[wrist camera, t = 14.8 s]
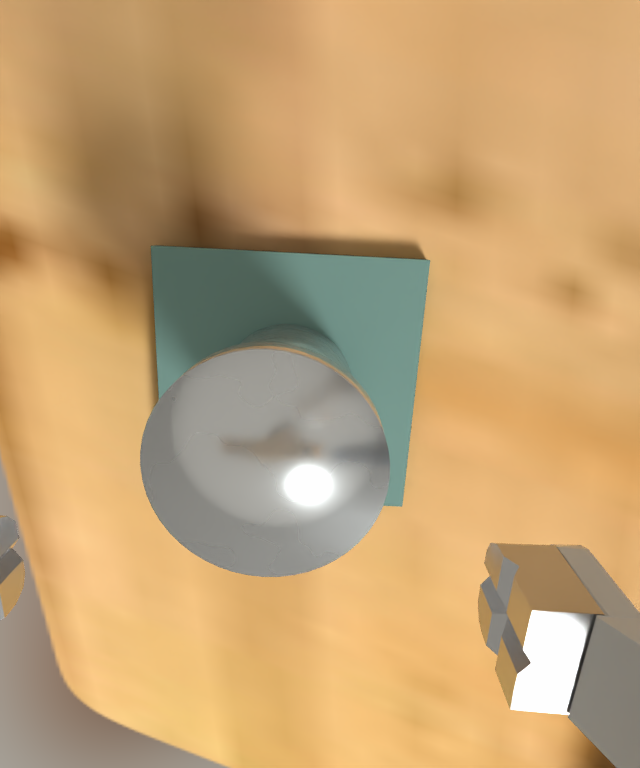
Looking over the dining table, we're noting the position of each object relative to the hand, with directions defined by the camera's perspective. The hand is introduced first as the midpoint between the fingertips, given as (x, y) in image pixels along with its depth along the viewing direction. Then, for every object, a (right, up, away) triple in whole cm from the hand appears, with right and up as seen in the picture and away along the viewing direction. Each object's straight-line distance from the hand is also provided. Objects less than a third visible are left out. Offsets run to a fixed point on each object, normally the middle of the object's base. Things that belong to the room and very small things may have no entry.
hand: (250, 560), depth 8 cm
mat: (0, +3, +11) cm, 11 cm away
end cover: (0, +3, +10) cm, 11 cm away
